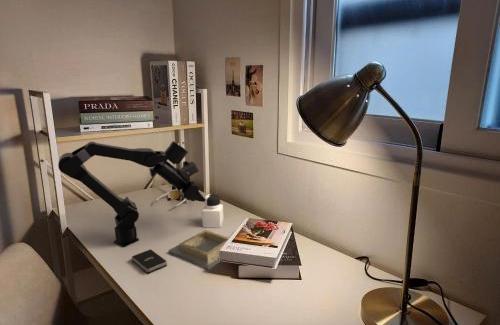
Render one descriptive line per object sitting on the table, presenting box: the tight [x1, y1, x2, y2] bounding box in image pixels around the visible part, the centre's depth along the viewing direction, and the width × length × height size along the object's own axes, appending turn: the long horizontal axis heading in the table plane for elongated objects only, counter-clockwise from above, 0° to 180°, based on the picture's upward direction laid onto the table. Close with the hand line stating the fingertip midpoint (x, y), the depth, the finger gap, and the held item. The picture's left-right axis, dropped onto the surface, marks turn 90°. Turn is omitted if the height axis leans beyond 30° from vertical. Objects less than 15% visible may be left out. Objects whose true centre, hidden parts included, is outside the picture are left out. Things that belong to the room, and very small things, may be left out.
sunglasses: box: [151, 188, 189, 212], centre depth 162 cm, size 14×15×5 cm
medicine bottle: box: [201, 193, 224, 229], centre depth 139 cm, size 7×7×12 cm
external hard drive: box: [131, 248, 168, 275], centre depth 112 cm, size 7×11×2 cm, turn 43°
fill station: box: [168, 229, 229, 270], centre depth 120 cm, size 18×18×3 cm
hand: (201, 197), depth 135 cm, fingers open, 9 cm apart
